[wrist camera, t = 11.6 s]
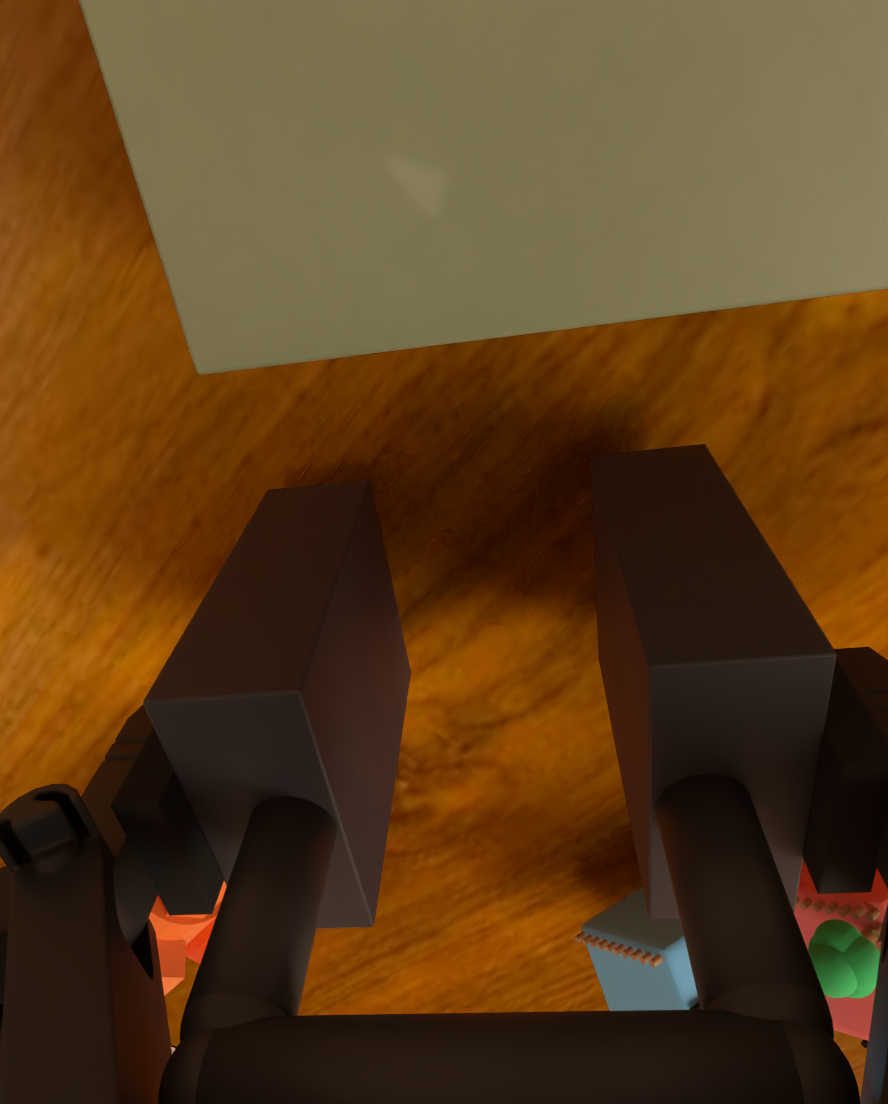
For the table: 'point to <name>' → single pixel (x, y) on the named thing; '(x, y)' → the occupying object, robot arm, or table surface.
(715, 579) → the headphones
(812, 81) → the shelf
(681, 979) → the building blocks
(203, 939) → the orange toy bird
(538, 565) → the table surface
